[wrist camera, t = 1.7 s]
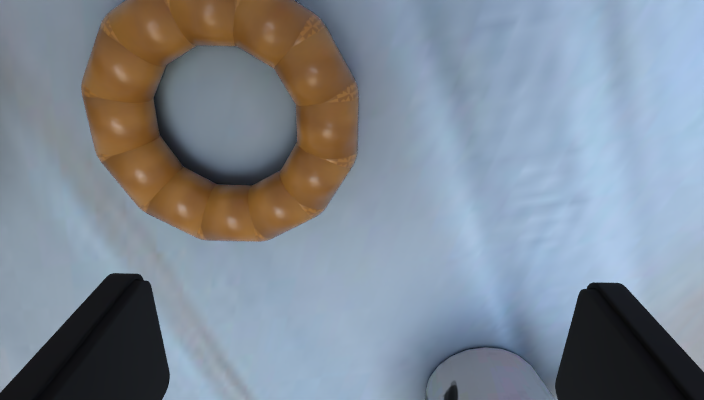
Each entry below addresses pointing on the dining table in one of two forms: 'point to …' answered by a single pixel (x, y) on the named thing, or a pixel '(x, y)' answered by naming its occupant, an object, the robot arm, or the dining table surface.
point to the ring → (160, 162)
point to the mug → (486, 377)
